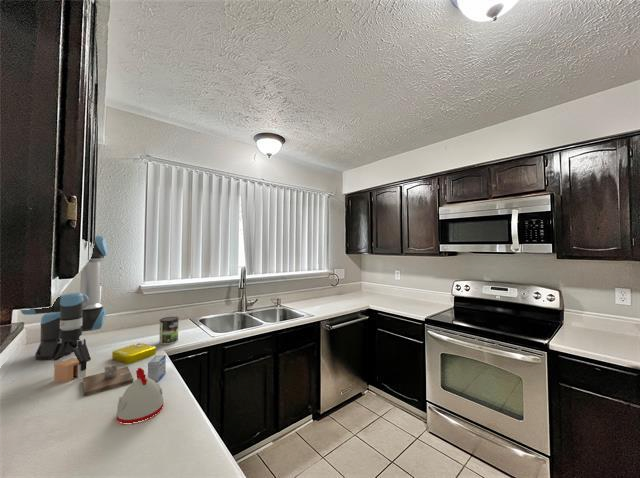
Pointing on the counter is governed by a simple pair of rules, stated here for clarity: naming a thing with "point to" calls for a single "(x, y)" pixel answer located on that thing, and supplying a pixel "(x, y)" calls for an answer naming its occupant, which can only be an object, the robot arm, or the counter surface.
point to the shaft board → (107, 379)
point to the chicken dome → (140, 400)
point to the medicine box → (157, 367)
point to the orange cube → (66, 370)
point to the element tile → (133, 353)
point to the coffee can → (168, 330)
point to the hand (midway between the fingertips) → (69, 375)
